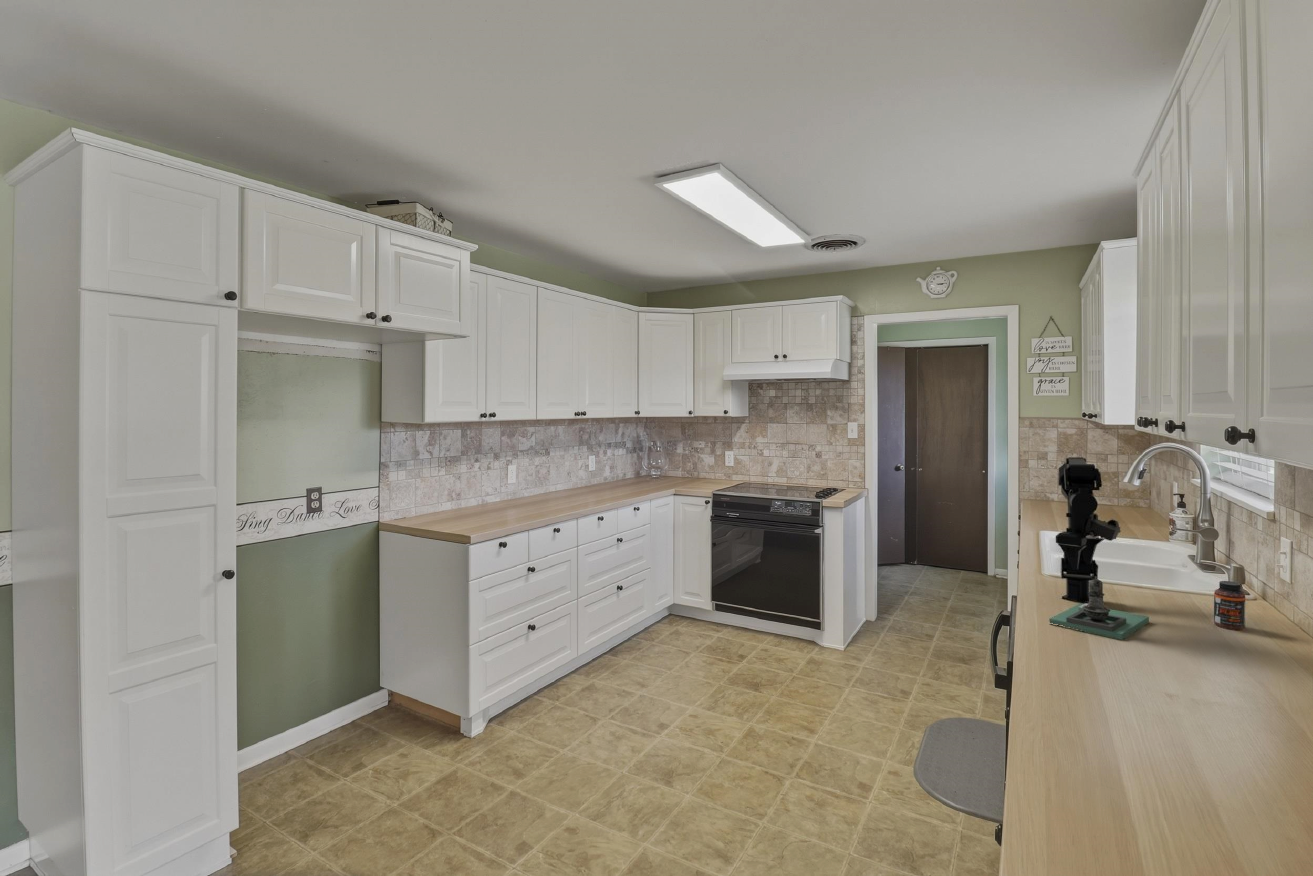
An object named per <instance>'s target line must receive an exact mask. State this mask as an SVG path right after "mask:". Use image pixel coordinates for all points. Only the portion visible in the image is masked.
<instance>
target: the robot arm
mask: <svg viewBox="0 0 1313 876" xmlns="http://www.w3.org/2000/svg"><path fill="white" fill-rule="evenodd" d="M1057 482H1058V483H1057V484H1058V486H1059V487H1060V493H1061V495H1063V497H1064V498H1065V499H1066V500H1067V501H1066V502H1067V513H1066V514H1065V518H1067V524H1068V527H1066V529H1065V531H1062V532H1058V533H1057V534H1056V535H1055V543H1056V544H1057V545H1058V546H1059V547H1060V549H1061V550H1062V552H1063V555H1062V556H1063V557H1061V559H1060V578H1061V579H1063V580H1064V579H1065V585H1066V587H1065V589H1066V590H1065V593H1066V594H1064V595H1062V596H1061V599H1062V600H1063V599H1064V600H1068V601H1074V602H1080V603H1084V602H1085V603H1087V604H1088V603H1089V594H1088V592H1090V586H1089V582H1090V580H1092V579H1095V576H1097V577H1098V573H1099V565H1098V564H1097V561H1096V560H1095V559H1093V558H1094V555H1095V552H1096V550H1097V546H1098V545H1099V544H1100V543H1101V542H1103V541H1104V540H1107V541H1110V542H1111V541H1113V540H1117V537H1118V535H1119V533H1121V526H1119V521H1118V520H1115V519H1113V518H1112V519H1110V520H1108V521H1107V522H1106V520H1101V519H1099V515H1098V514H1097V513H1096V510H1097V509H1098V505H1099V504H1098V503H1099V502H1098V500H1097V499H1096V497H1095V494H1094V491H1100V490H1101V489H1100V488H1102V487H1103V484H1102V483H1103V482H1102V476H1101V471H1099V469H1098V467H1096V465H1095V464H1094V463H1087V458H1086V457H1085V458H1084V457H1082V456H1081V457H1080V456H1079V457H1077V456H1074V457H1073V456H1070V457H1066V458H1065V462H1064V463H1063V464H1062V465H1060V466H1059V467H1058V477H1057ZM1097 579H1098V580H1099V578H1097ZM1085 603H1084V604H1085Z"/></svg>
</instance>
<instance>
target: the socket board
mask: <svg viewBox="0 0 1313 876" xmlns="http://www.w3.org/2000/svg"><path fill="white" fill-rule="evenodd" d="M1085 605H1088V602H1087V603H1084V604H1083V603H1078V604H1076V605H1074V606H1071V608H1068V609H1066V610H1064V611H1062V612H1060V613H1058V614H1056V615H1054V616H1052V617H1050V618H1049V621H1048V622H1050V623H1053V624H1058V625H1063V626H1065V627H1070V628H1074V629H1078V630H1082V631H1086V632H1085V633H1087V632H1090V633H1089V634H1092V633H1094V634H1093V635H1096V634H1098V635H1097V636H1101V635H1102V636H1101V637H1106V638H1110V639H1115V640H1121V641H1122V640H1124V639H1125V638H1127V637H1129V636H1131V635H1132V634H1133V633H1134V632H1136V631H1138V630H1140V629H1141V628H1142V627H1144V626H1145V625H1147V624H1149V623H1150V616H1147V615H1143V614H1136V613H1131V612H1126V611H1123V610H1122V611H1121V610H1116V609H1112V608H1111V609H1110V608H1109V609H1110V612H1109V615H1108V617H1107V618H1105V619H1103V620H1105V621H1107V622H1108V623H1109V625H1106V624H1101V623H1096V622H1091V621H1086V620H1085V619H1087V618H1089V617H1088V616H1087V615H1086V614H1085V612H1084V609H1083V608H1082V607H1083V606H1085ZM1078 630H1077V631H1078ZM1082 631H1081V632H1082ZM1131 633H1132V634H1131ZM1128 635H1129V636H1128Z"/></svg>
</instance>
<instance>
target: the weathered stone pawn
mask: <svg viewBox="0 0 1313 876" xmlns="http://www.w3.org/2000/svg"><path fill="white" fill-rule="evenodd" d="M1097 578H1098V577H1097V576H1095V579H1092V580H1089V592H1088V594H1089V602H1087V604H1088V605H1085V606H1083V607H1082V608H1083V609H1084V612H1085V614H1086V615H1087V616H1088V617H1089V618H1087V619H1085V620H1086V621H1091V622H1096V623H1101V624H1106V625H1109V623H1108V622H1107V621H1105V620H1103V619H1105V618H1107V617H1108V615H1109V612H1110V608H1108V607H1106V606H1105V604H1104V596H1105V594H1104V591H1103V589H1104V588H1103V587H1104V586H1103V585H1104V583H1103V582H1102V580H1100V579H1099V578H1098V579H1097Z"/></svg>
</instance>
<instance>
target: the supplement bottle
mask: <svg viewBox="0 0 1313 876" xmlns="http://www.w3.org/2000/svg"><path fill="white" fill-rule="evenodd" d="M1213 623H1214V625H1215V626H1216V627H1219V628H1222V629H1225V628H1226V629H1225V630H1231V629H1234V630H1235V631H1240V630H1241V629H1242V630H1244V629H1245V628H1246V594H1245V593H1244V592H1243V591H1241V584H1240V583H1239V582H1236V581H1230V580H1220V581H1219V584H1218V588H1216V589H1215V590H1214V592H1213ZM1234 630H1233V631H1234Z"/></svg>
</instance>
